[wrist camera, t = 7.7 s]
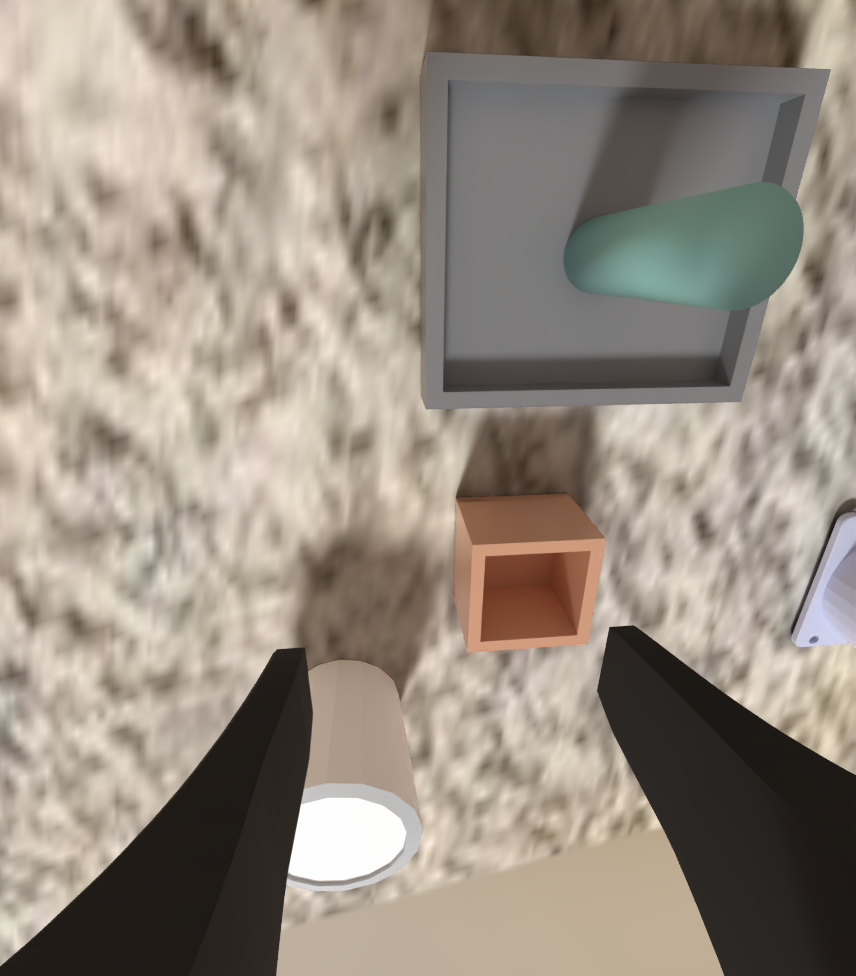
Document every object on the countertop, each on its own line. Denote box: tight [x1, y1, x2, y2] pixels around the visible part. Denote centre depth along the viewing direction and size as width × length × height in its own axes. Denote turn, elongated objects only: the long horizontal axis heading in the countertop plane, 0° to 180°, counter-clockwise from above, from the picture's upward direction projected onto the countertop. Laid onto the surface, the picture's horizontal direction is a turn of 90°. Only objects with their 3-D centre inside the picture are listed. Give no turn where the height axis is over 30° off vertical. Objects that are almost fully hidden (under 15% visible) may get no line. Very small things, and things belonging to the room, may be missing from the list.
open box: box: [453, 493, 606, 652], centre depth 21 cm, size 5×5×4 cm
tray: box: [420, 52, 831, 409], centre depth 17 cm, size 12×10×2 cm
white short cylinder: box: [286, 660, 423, 891], centre depth 23 cm, size 7×7×7 cm
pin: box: [564, 182, 803, 311], centre depth 14 cm, size 2×2×8 cm
